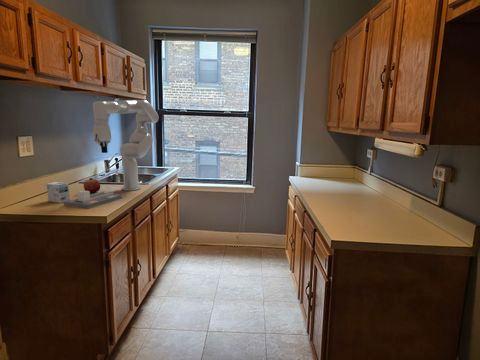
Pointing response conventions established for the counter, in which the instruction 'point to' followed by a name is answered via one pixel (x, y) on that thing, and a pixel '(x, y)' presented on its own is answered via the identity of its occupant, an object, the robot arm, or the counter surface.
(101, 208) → the counter surface
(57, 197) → the light bulb box
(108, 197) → the switch board
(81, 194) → the switch tab
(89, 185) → the fruit
